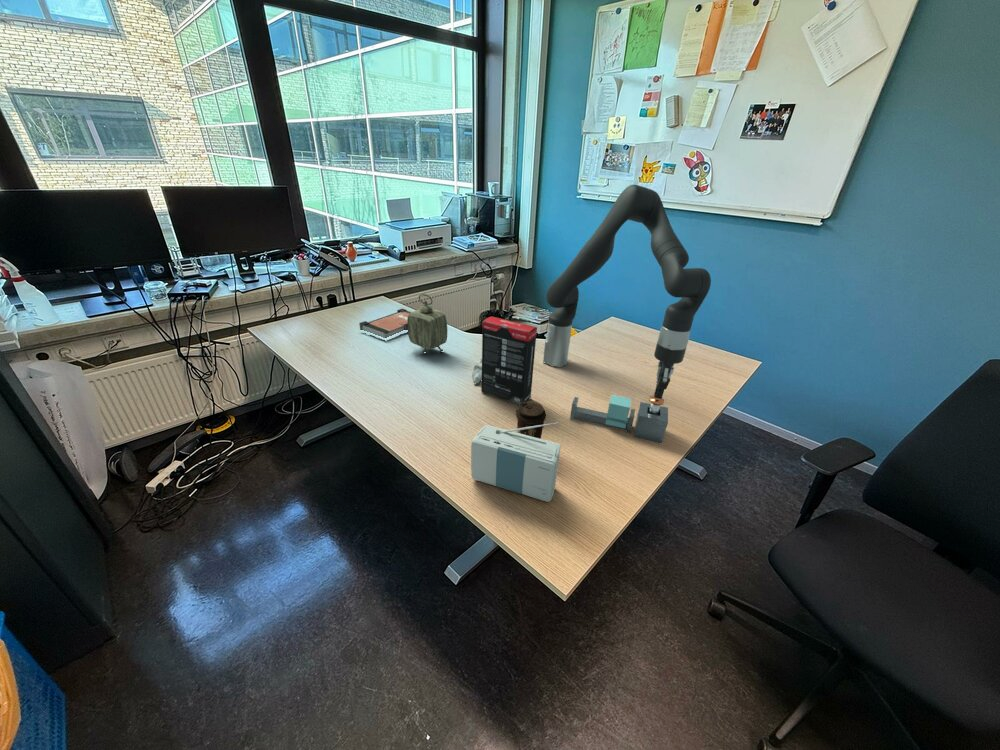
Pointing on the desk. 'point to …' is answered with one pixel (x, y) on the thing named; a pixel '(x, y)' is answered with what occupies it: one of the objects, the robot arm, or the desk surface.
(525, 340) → the graphics card box
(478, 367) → the male figure
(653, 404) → the plunger
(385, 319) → the book
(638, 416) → the grey cube with hole
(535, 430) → the coffee cup
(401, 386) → the desk surface
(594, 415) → the rail
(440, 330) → the tabletop clock
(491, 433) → the stereo radio cassette player
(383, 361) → the desk surface
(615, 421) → the carriage
